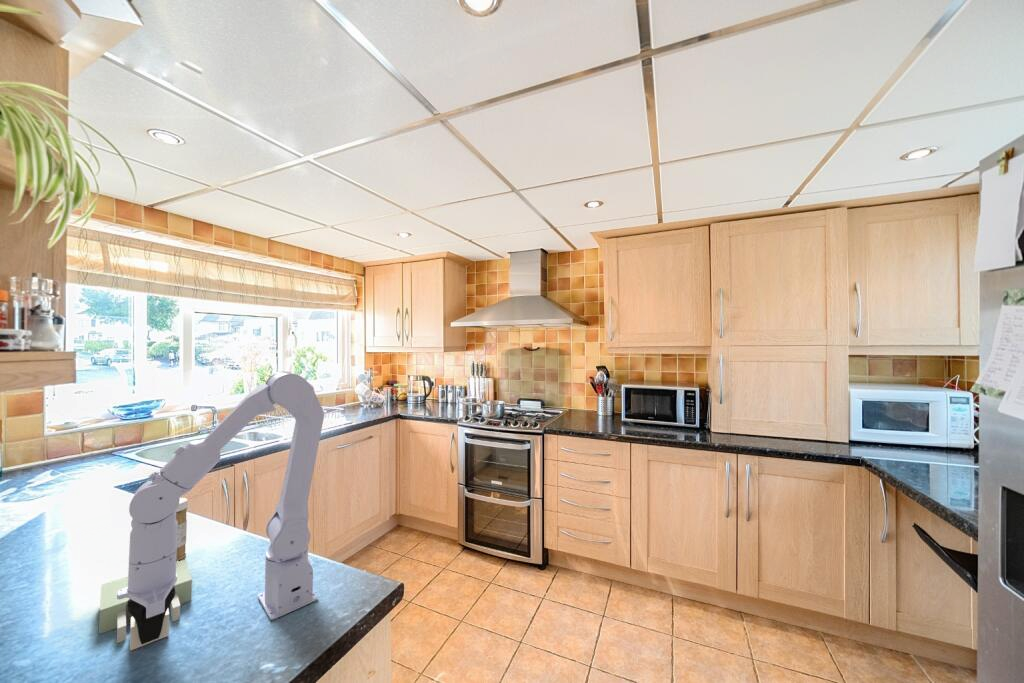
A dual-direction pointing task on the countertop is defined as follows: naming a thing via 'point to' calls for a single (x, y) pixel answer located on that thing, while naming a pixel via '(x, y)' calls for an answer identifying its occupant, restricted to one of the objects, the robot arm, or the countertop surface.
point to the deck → (117, 610)
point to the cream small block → (135, 636)
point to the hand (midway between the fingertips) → (150, 639)
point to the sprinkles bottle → (181, 528)
